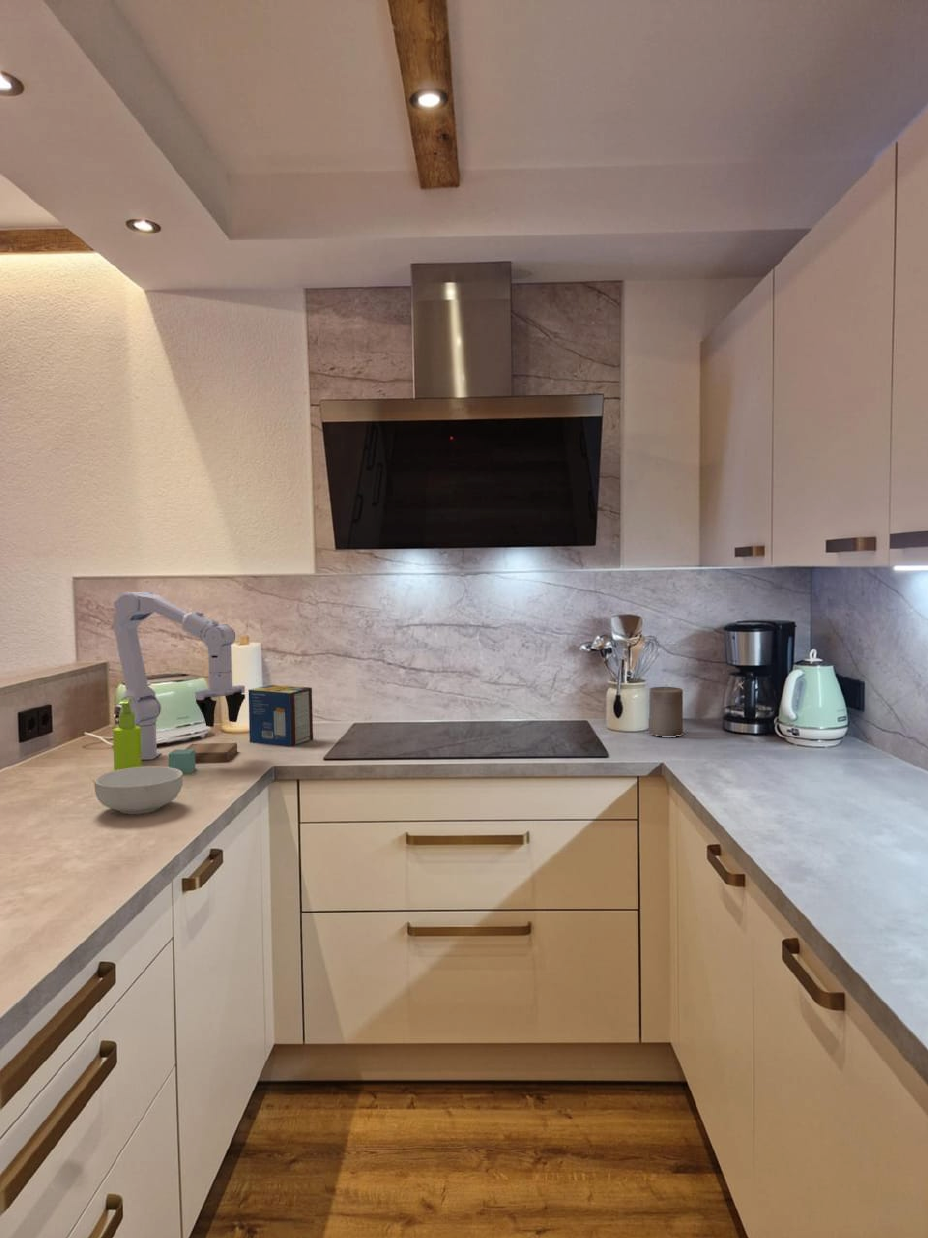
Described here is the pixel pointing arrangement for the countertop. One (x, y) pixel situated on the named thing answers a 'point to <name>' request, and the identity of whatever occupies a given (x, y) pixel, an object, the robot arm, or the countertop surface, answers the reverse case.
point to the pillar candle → (666, 711)
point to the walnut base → (213, 752)
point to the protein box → (280, 715)
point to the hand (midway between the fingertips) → (221, 724)
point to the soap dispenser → (127, 739)
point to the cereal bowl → (138, 788)
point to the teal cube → (182, 760)
